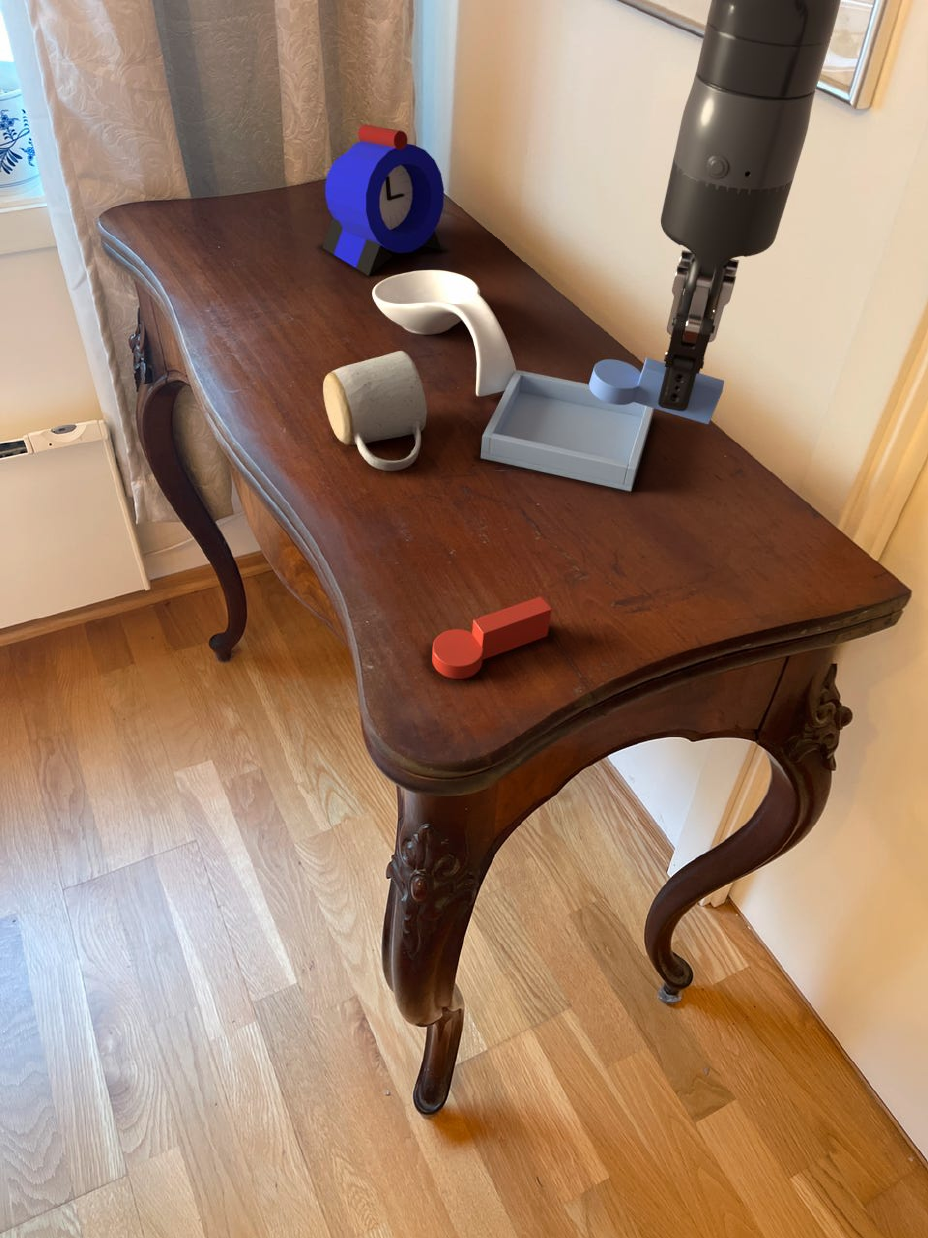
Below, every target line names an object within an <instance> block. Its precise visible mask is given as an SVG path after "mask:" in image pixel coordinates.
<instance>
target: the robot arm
mask: <svg viewBox="0 0 928 1238" xmlns="http://www.w3.org/2000/svg"><path fill="white" fill-rule="evenodd" d="M841 1H842V0H711V1H710V5H709V9H708V13H707V18H706V24H705V29H704V33H703V38H702V43H701V48H700V51H699V57H698V62H697V66H696V71H695V74H694V78H693V81H692V85H691V88H690V91H689V94H688V97H687V100H686V102H685V106H684V108H683V113H682V116H681V121H680V125H679V130H678V135H677V139H676V144H675V150H674V154H673V159H672V162H671V163H672V164H671V168H670V169H671V170H670V172H669V178H668V182H667V187H666V192H665V198H664V202H663V205H662V211H661V216H660V225H661V226H660V227H661V229H662V231H663V232H664V234H665V236H667V238H669V239H670V240H671V241H672V242H673V243H675V244H677V245H678V246H683V247H684V248H686V249H687V250H685V249H682V250H681V253H680V257H679V261H678V265H677V266H676V270H675V274H674V275H675V276H674V279H673V284H672V287H671V293H672V295H673V300H672V304H671V308H670V313H669V315H668V320H667V325H666V332H667V333H668V335H670V337H669V340H670V341H669V344H668V349H666V352H665V354H664V359H663V363H665V367H666V371H665V375H664V379H663V383H662V388H661V392H660V396H659V400H658V404H659V406H660V407H662V408H666V409H671V410H676V411H685V410H686V409H687V407H688V404H689V400H690V396H691V393H692V389H693V385H694V382H695V378H696V374H697V373H698V374H699V373H701V370H703V368H704V366H705V365H704V364H705V356H706V355H705V354H706V351H707V348H708V345H709V343H712V342H714V341H715V340H716V338H717V335H718V332H719V331H718V330H719V327H720V324H721V321H722V316H723V312H724V309H725V306H726V305H728V304H729V303H730V301H731V298H732V294H733V290H734V287H735V284H736V279H737V276H736V275H737V271H738V269H739V264H740V260H739V259H735V258H740V257H744V258H747V257H752V256H755V255H756V256H757V255H758V254H761V253H764V252H765V251H767V250H768V249H770V247H771V246H773V244H774V242H775V240H776V238H777V234H778V232H779V228H780V224H781V221H782V219H783V216H784V215H783V214H784V211H785V208H786V204H787V201H788V199H789V195H790V193H791V189H792V186H793V181H794V178H795V175H796V172H797V168H798V164H799V161H800V158H801V155H802V151H803V149H804V144H805V141H806V137H807V134H808V130H809V125H810V121H811V113H812V107H813V102H814V98H815V94H816V89H817V87H818V83H819V80H820V77H821V73H822V70H823V66H824V64H825V60H826V58H827V57H826V56H827V54H828V50H829V47H830V43H831V40H832V37H833V33H834V29H835V26H836V22H837V18H838V14H839V11H840V5H841Z"/></svg>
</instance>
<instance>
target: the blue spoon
mask: <svg viewBox="0 0 928 1238" xmlns="http://www.w3.org/2000/svg"><path fill="white" fill-rule="evenodd" d="M665 363H666V362H664V361H660V360H656V359H652V358H650V357H646V358H645V361H644V363H643V367H642V368H641V371H640V370H639V369H638V368H636V366H634V365H633V364H631V363H628V362H626V361H622V360H619V359H603V360H600V361H597V363H595V364H594V367H593V369H592V370H593V371H592V372H591V376H590V380H589V383H588V385H589V388H590V390H591V392H592V393H593V394H594V395H595V396H596V397H597V398H599V399H600V400H602V401H604V402H607V403H610V404H615V405H627V404H630V403H632V402H635V403H638V404H642V405H645V406H648V407H652V408H654V410H659V411H661V412H666V413H668V414H672V415H675V416H678V417H682V418H685V419H688V420H692V421H695V422H697V423H702V424H704V425H709V424H710V422H711V420H712V418H713V415H714V413H715V410H716V408H717V406H718V404H719V401H720V399H721V396H722V394H723V391H724V387H725V386H724V385H725V380H724V379H720V378H717V377H713V376H710V375H707V374H703V373H701V372H699V374H698V373H697V374H696V378H695V382H694V385H693V389H692V393H691V396H690V400H689V404H688V407H687V409H686V410H685V411H676V410H671V409H666V408H662V407H660V406H659V404H658V400H659V396H660V392H661V388H662V383H663V379H664V375H665V371H666V367H665Z"/></svg>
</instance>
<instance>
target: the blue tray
mask: <svg viewBox="0 0 928 1238" xmlns="http://www.w3.org/2000/svg"><path fill="white" fill-rule="evenodd" d="M654 412H655V408H652V407H648V406H645V405H642V404H638V403H635V402H632V403H630V404H627V405H615V404H610V403H607V402H604V401H602V400H600V399H599V398H597V397H596V396H595V395H594V394H593V393H592V392H591V390H590V388H589V383H583V382H578V381H573V380H568V379H564V378H560V377H559V378H558V377H554V376H548V375H544V374H539V373H534V372H529V371H525V370H519V369H516V371H515V373H514V375H513V377H512V379H511V380H510V382H509V384H508V386H507V388H506V390H505V391H503V394H502V397H501V398H500V400H499V402H498V405H497V406H496V408H495V409H494V412H493V414H492V416H491V417H490V420H489V422H488V424H487V426H486V428H485V430H484V432H483V434H482V437H481V447H480V448H481V450H480V459H483V460H488V461H492V462H497V463H500V464H505V465H510V466H515V467H519V468H524V469H528V470H533V471H538V472H542V473H545V474H551V475H554V476H559V477H564V478H569V479H573V480H578V481H582V482H587V483H591V484H594V485H595V484H596V485H599V486H603V487H609V488H614V489H618V490H621V491H627V492H632V491H633V488H634V487H633V486H634V483H635V480H636V476H637V473H638V469H639V466H640V462H641V458H642V455H643V452H644V448H645V445H646V441H647V437H648V433H649V431H650V426H651V424H652V419H653V414H654Z"/></svg>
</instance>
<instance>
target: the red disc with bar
mask: <svg viewBox="0 0 928 1238" xmlns="http://www.w3.org/2000/svg"><path fill="white" fill-rule="evenodd" d="M552 610H553V609H552V608H551V606H550V605H549V604H548V603H547V602H546V600H545V599H544V598H543V597H542V596H537V597H535V598H532V599H529V600H526V601H524V602H520V603H518V604H515V605H512V606H509V607H506V608H504V609H500V610H498V611H495V612H492V613H489V614H486V615H483V616H480V617H478V618H475V619H473V621H472V629H471V631H469V630H467V629H461V628H454V629H448V630H445V631H443V632H441V633H439V635H438V636H436V638H434V641H433V644H432V652H431V653H432V656H431V657H432V658H431V661H432V662H431V663H432V665H433V667H434V669H435V670H436V671H437V672H438V673H439V674H440V675H441V676H443V677H446V678H449V679H453V680H464V679H469V678H471V677H473V676H474V675H476V674H477V673H478V672H479V671H480V669H481V667H482V665H483V660H487V659H488V658H491V657H494V656H497V655H499V654H502V653H506V652H508V651H510V650H513V649H515V648H519V647H521V646H524V645H527V644H530V643H532V642H535V641H538V640H540V639H543V638H546V637H548V634H549V628H550V622H551V617H552V616H551V615H552Z"/></svg>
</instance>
